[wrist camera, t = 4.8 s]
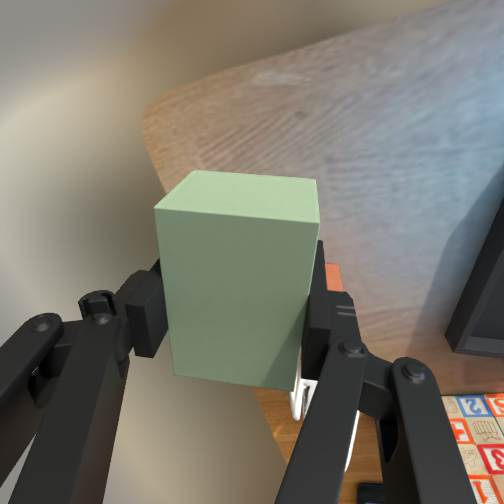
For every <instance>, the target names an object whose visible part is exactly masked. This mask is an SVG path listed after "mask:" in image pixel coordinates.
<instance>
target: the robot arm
mask: <svg viewBox="0 0 504 504" xmlns="http://www.w3.org/2000/svg"><path fill="white" fill-rule="evenodd" d="M78 304H79V307H80V311H81V314H82V318H83V320H78V321H69V322H62V319H61V317H60V316H59V315H58V314H55V313H43V314H40V315H37V316H34V317H32V318H30V319H29V320H28V321H26V322H25V323H24V324H23V325H22V326H21V327H20V328H19V329H18V330H17V331H16V332H15V333H14V334H13V335H12V336H11V337H10V338H9V339H8V340H7V341H6V342H5V343H4V344H3V345H2V346H1V347H0V487H1V486H2V484H3V483H4V481H5V480H6V478H7V477H8V475H9V473H10V472H11V471H12V469H13V468H14V466H15V465H16V463H17V462H18V460H19V458H20V457H21V455H22V454H23V452H24V451H25V449H26V447H27V446H28V445H29V443H30V442H31V440H32V438H33V437H34V436H35V434H36V436H35V438H34V441H33V444H32V446H31V448H30V451H29V453H28V456H27V458H26V461H25V463H24V466H23V468H22V471H21V473H20V475H19V478H18V480H17V483H16V485H15V488H14V490H13V492H12V495H11V498H10V500H9V502H8V504H102V503H103V498H104V493H105V488H106V483H107V478H108V472H109V467H110V462H111V457H112V451H113V447H114V441H115V436H116V431H117V426H118V421H119V415H120V410H121V405H122V400H123V395H124V390H125V385H126V379H127V374H128V369H129V364H130V361H129V355H128V354H129V353H130V351H131V349H132V348H133V346H134V351H135V356H140V357H148V358H153V357H154V356H155V354H156V352H157V350H158V348H159V346H160V344H161V342H162V340H163V338H164V336H165V334H166V332H167V330H168V328H169V326H168V318H167V310H166V301H165V293H164V285H163V278H162V273H161V265H160V257H159V259H158V260H157V261H156V263H155V264H154V265H153V267H152V268H151V269H150V271H145V270H139V271H137V272H135V273H134V274H132V275H130V277H129V278H128V279H127V280H126V281H125V284H123V285H122V286H121V287H120V289H119V290H118V291H117V292H116V294H114V293H113V292H110V291H108V290H99V291H94V292H92V293H89V294H86V295H85V296H83V297H82V298H81V299H80V300H79V301H78ZM354 309H355V308H354V303H353V299H352V298H351V297H350V296H349V294H348V293H347V292H342V291H333V290H328V288H327V279H326V269H325V260H324V250H323V241H321V240H318V241H317V248H316V254H315V261H314V267H313V273H312V280H311V286H310V293H309V297H308V304H307V310H306V317H305V323H304V330H303V336H302V343H301V379H306V380H314V381H318V382H317V385H316V388H315V390H314V393H313V396H312V399H311V402H310V404H309V407H308V410H307V413H306V416H305V419H304V421H303V424H302V427H301V430H300V433H299V435H298V438H297V441H296V444H295V447H294V450H293V452H292V455H291V458H290V461H289V464H288V466H287V469H286V472H285V475H284V478H283V481H282V483H281V486H280V489H279V492H278V495H277V497H276V500H275V503H274V504H338V501H339V496H340V492H341V487H342V482H343V477H344V472H345V468H346V463H347V458H348V453H349V448H350V444H351V439H352V434H353V429H354V424H355V420H356V415H357V410H358V411H360V412H362V413H365V414H367V415H369V416H371V417H373V418H375V424H376V432H377V439H378V447H379V455H380V462H381V470H382V478H383V486H384V493H385V501H386V504H478V503H477V500H476V497H475V494H474V491H473V488H472V485H471V483H470V480H469V477H468V474H467V471H466V468H465V465H464V462H463V459H462V456H461V453H460V450H459V447H458V444H457V441H456V438H455V435H454V432H453V429H452V427H451V424H450V421H449V418H448V415H447V412H446V409H445V406H444V403H443V400H442V397H441V394H440V391H439V388H438V385H437V382H436V379H435V376H434V375H433V373H432V371H431V370H430V369H429V368H428V367H427V366H426V365H425V364H423V363H421V362H420V361H418V360H416V359H412V358H408V357H401V358H398V359H396V360H395V361H394V362H393V363H391V362H388V361H386V360H383V359H380V358H378V357H376V356H374V355H373V354H371V353H370V352H369V351H368V349H367V347H366V345H365V344H364V343H362V341H361V337H360V332H359V327H358V322H357V317H356V312H355V310H354ZM35 369H36V370H35ZM34 370H35V371H34ZM33 371H34V372H33ZM32 372H33V373H32Z"/></svg>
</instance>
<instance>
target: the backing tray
mask: <svg viewBox="0 0 504 504" xmlns="http://www.w3.org/2000/svg"><path fill="white" fill-rule="evenodd" d="M445 337H446V339H447V341H448V343H449V345H450V347H451V349H452V351H453V352H454V353H460V354H469V355H477V356H486V357H494V358H503V359H504V199H503V201H502V204H501V206H500V208H499V211H498V213H497V215H496V218H495V220H494V222H493V224H492V227H491V229H490V231H489V234H488V236H487V238H486V241H485V243H484V245H483V247H482V250H481V252H480V254H479V257H478V259H477V261H476V264H475V266H474V268H473V270H472V273H471V275H470V277H469V280H468V282H467V284H466V287H465V289H464V291H463V293H462V296H461V298H460V300H459V303H458V305H457V307H456V310H455V312H454V314H453V316H452V319H451V321H450V323H449V326H448V328H447V330H446V333H445Z"/></svg>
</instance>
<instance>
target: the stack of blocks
mask: <svg viewBox="0 0 504 504" xmlns="http://www.w3.org/2000/svg"><path fill="white" fill-rule="evenodd" d="M441 397H442V400H443V403H444V406H445V409H446V412H447V415H448V418H449V421H450V424H451V427H452V429H453V432H454V435H455V438H456V441H457V444H458V447H459V450H460V453H461V456H462V459H463V462H464V465H465V468H466V471H467V474H468V477H469V480H470V483H471V485H472V488H473V491H474V494H475V497H476V500H477V503H478V504H504V393H502V394H483V395H456V396H441Z"/></svg>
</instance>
